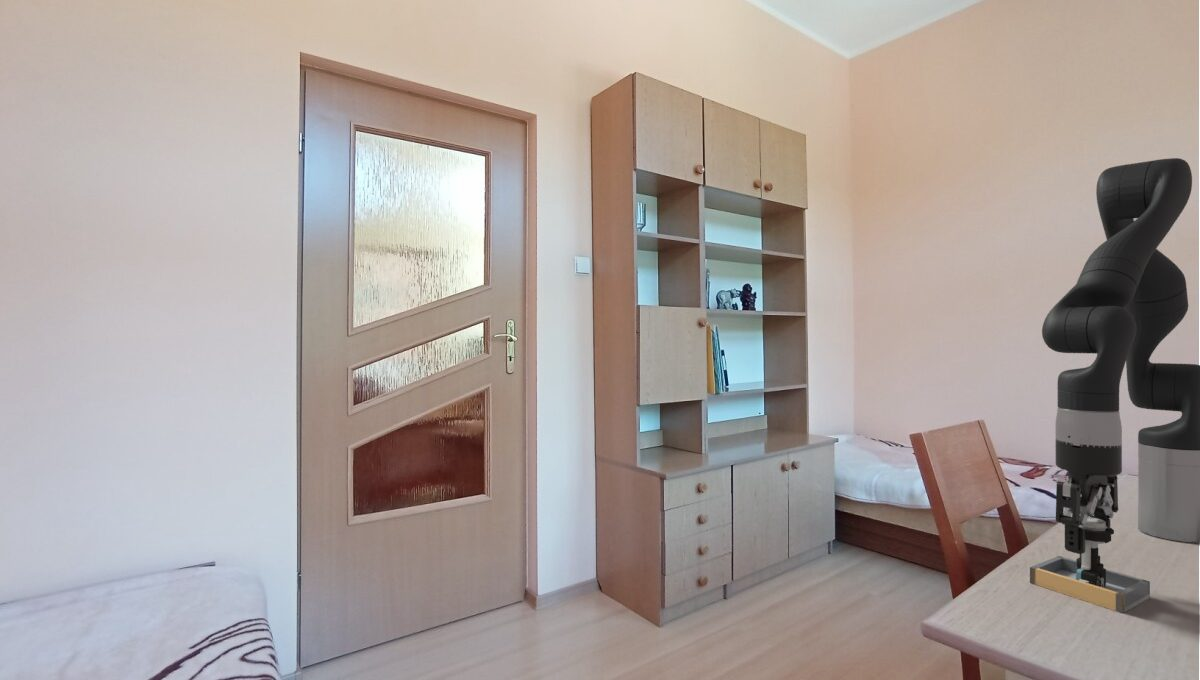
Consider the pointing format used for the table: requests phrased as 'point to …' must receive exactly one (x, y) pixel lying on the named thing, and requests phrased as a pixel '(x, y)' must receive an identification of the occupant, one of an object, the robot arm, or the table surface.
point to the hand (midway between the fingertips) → (1087, 546)
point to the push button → (1093, 553)
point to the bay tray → (1090, 585)
